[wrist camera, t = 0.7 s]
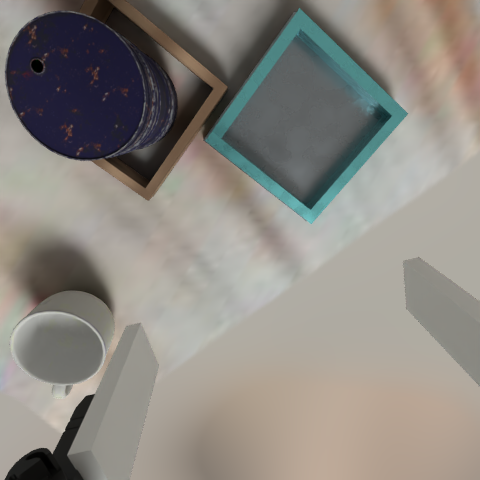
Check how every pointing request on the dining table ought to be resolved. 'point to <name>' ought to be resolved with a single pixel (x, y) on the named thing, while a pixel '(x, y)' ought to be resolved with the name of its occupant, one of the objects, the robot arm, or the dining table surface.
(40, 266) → the dining table surface
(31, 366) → the teacup
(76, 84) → the navy oil drum
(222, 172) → the dining table surface
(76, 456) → the robot arm
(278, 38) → the teal square tray
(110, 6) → the walnut holder
